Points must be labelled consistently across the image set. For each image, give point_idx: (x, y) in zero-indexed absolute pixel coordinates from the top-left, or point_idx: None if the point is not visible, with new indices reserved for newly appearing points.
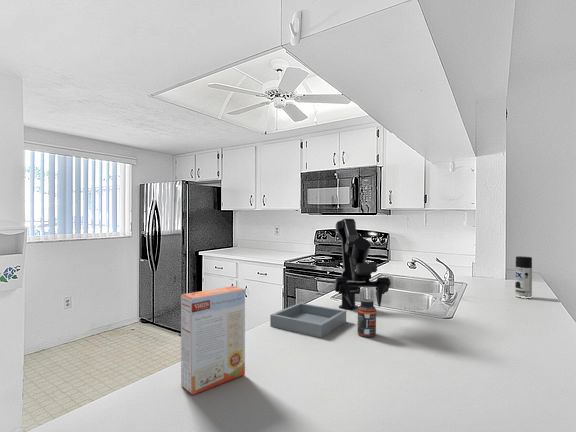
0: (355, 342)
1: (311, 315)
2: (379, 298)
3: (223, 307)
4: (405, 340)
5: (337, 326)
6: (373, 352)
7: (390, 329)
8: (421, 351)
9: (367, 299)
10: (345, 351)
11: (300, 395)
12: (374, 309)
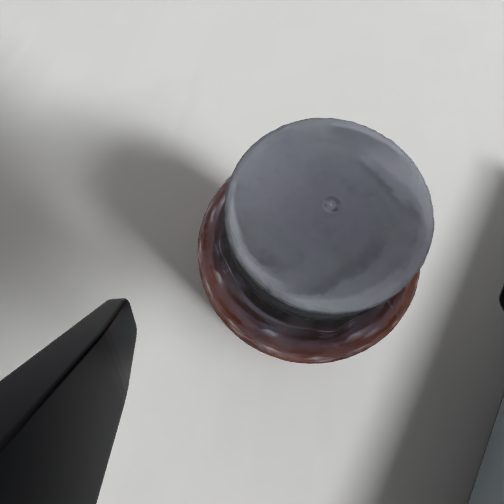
0: None
1: None
2: (62, 361)
3: None
4: (66, 222)
5: (493, 440)
6: (283, 58)
7: None
8: (48, 89)
9: (315, 265)
10: (413, 57)
11: None
12: (227, 182)
